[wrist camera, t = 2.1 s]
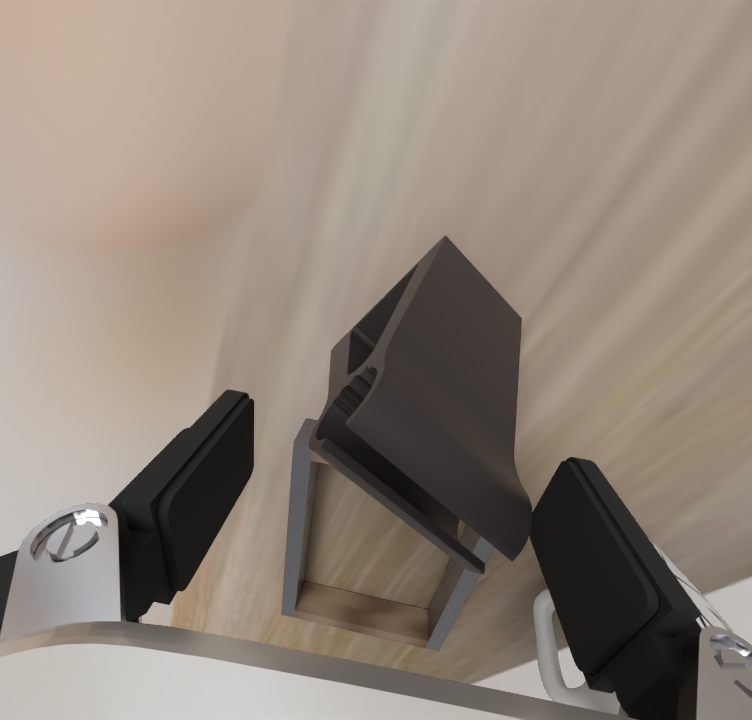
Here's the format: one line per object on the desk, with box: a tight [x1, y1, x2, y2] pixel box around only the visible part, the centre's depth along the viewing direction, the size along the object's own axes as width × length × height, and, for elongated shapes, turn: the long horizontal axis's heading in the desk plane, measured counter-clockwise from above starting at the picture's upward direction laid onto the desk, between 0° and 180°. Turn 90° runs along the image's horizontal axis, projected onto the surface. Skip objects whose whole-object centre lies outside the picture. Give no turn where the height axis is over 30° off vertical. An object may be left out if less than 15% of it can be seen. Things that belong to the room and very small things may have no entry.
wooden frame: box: [281, 418, 520, 651], centre depth 26 cm, size 14×20×2 cm
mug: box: [533, 538, 736, 715], centre depth 21 cm, size 11×8×10 cm
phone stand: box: [309, 236, 532, 574], centre depth 14 cm, size 9×6×12 cm, turn 136°
